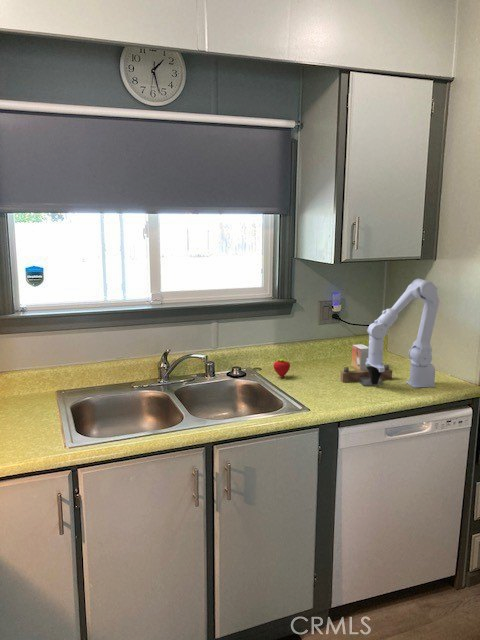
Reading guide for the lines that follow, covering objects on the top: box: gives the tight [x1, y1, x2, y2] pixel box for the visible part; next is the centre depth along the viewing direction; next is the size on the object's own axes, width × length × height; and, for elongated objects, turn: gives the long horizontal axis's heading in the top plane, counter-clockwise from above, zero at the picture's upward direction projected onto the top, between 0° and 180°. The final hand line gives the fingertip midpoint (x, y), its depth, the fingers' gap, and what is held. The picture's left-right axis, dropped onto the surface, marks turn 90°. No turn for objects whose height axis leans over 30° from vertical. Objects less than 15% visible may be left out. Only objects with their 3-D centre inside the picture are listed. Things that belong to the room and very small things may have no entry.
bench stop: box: [339, 364, 393, 383], centre depth 229 cm, size 22×3×6 cm, turn 98°
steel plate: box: [358, 376, 383, 387], centre depth 225 cm, size 8×6×2 cm
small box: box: [350, 343, 370, 370], centre depth 246 cm, size 8×6×10 cm
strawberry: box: [272, 355, 291, 378], centre depth 234 cm, size 6×8×10 cm
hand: (374, 383), depth 221 cm, fingers closed
